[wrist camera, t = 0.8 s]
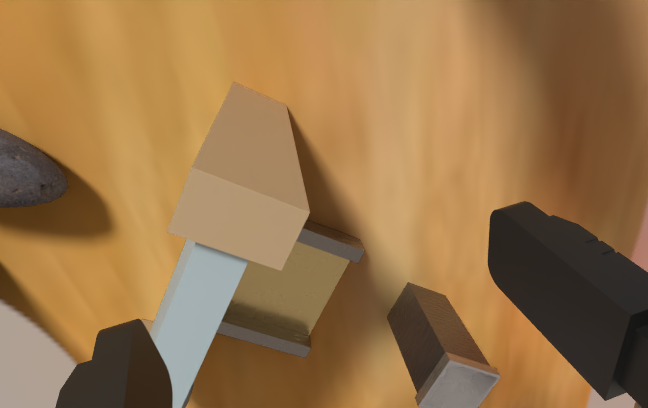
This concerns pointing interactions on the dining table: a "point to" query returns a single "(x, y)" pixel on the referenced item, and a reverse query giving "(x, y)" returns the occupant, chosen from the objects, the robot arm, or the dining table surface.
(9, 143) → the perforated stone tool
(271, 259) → the door
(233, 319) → the keeper
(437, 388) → the bar
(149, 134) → the dining table surface
